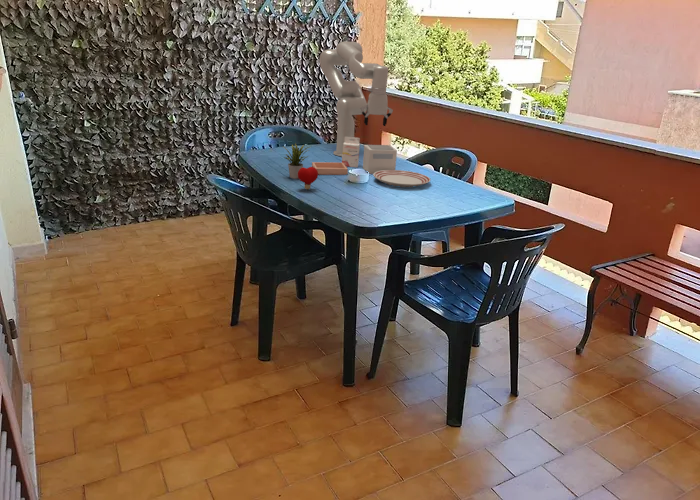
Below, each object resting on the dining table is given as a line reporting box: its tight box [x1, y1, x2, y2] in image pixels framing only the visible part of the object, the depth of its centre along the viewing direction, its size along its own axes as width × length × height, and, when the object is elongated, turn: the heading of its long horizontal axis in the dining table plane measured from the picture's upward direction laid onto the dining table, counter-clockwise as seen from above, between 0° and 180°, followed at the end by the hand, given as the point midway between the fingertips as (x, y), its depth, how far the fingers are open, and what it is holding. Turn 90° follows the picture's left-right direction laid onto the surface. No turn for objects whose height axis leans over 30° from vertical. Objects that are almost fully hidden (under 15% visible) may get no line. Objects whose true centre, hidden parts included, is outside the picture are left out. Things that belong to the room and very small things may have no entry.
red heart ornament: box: [298, 166, 319, 191], centre depth 234 cm, size 9×7×10 cm
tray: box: [311, 161, 349, 176], centre depth 267 cm, size 13×16×3 cm
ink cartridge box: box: [341, 136, 361, 168], centre depth 279 cm, size 9×5×15 cm, turn 84°
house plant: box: [281, 142, 311, 180], centre depth 251 cm, size 14×14×16 cm
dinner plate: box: [372, 169, 431, 188], centre depth 257 cm, size 28×27×3 cm
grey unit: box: [362, 144, 398, 175], centre depth 273 cm, size 13×14×12 cm
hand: (375, 125), depth 278 cm, fingers open, 9 cm apart
